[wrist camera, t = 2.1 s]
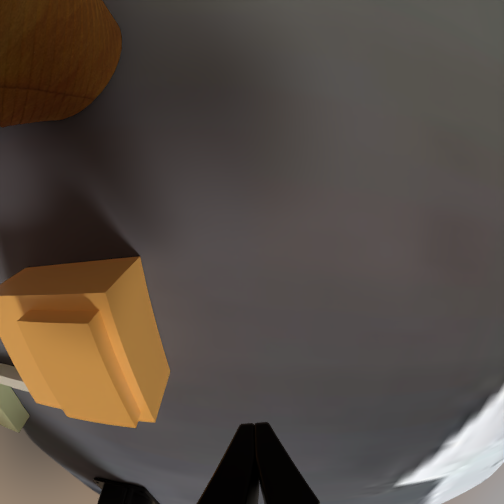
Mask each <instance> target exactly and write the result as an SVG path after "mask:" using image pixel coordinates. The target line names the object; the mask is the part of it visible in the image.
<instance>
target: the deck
mask: <svg viewBox="0 0 504 504" xmlns="http://www.w3.org/2000/svg"><path fill="white" fill-rule="evenodd" d="M11 387H13V388H17V389H20V390H24V391H28V392H29V390H28V389H27V387H26V385H25V383H24V382H23V380H22V378H21V377H20V375H19V373H18V371H17V369H16V367H15V366H10V365H6V364H2V363H0V425H2V426H4V427H7V428H9V429H11V430H14V431H16V432H18V433H19V432H20V431H21V429H22V427H23V426H24V424H25V423H26V421H27V419H28V418H29V414H28V413H27V411H26V410H25V408H24V407H23V405H22V404H21V402H20V401H19V399H18V398H17V396H16V395H15V393H14V391H13V390H12V388H11Z"/></svg>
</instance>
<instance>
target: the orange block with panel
mask: <svg viewBox="0 0 504 504" xmlns="http://www.w3.org/2000/svg"><path fill="white" fill-rule="evenodd" d="M0 337H1V339H2V342H3V344H4V346H5V348H6V350H7V352H8V354H9V356H10V358H11V360H12V362H13V364H14V366H15V367H16V369H17V371H18V373H19V375H20V377H21V378H22V380H23V382H24V383H25V385H26V387H27V389H28V390H29V392H30V393H31V395H32V397H33V398H34V400H35V401H36V403H39V404H43V405H47V406H51V407H55V408H59V409H63V411H64V412H65V414H66V415H67V417H71V418H76V419H81V420H86V421H91V422H97V423H103V424H109V425H116V426H124V427H132V428H136V426H137V423H138V421H144V422H155V421H156V418H157V414H158V411H159V407H160V404H161V401H162V397H163V394H164V390H165V387H166V384H167V381H168V377H169V374H170V369H169V366H168V362H167V359H166V356H165V353H164V349H163V346H162V343H161V339H160V336H159V332H158V329H157V325H156V321H155V317H154V314H153V310H152V306H151V302H150V298H149V294H148V290H147V285H146V281H145V277H144V272H143V268H142V263H141V258H140V256H138V257H128V258H117V259H107V260H97V261H87V262H77V263H67V264H57V265H47V266H38V267H28V268H25V269H23V270H21V271H20V272H18V273H17V274H15V275H14V276H12V277H11V278H9V279H8V280H6V281H5V282H3V283H2V284H0Z"/></svg>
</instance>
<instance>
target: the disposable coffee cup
mask: <svg viewBox="0 0 504 504" xmlns="http://www.w3.org/2000/svg"><path fill="white" fill-rule="evenodd" d="M121 49H122V36H121V31H120V28H119V26H118V24H117V22H116V21H115V19H114V18H113V16H112V15H111V13H110V12H109V10H108V9H107V7H106V6H105V4H104V2H103V1H102V0H0V126H1V127H6V126H9V125H11V126H12V125H17V124H25V123H32V122H40V121H50V120H53V121H54V120H62V119H65V118H68V117H70V116H73V115H75V114H77V113H78V112H80V111H82V110H83V109H84V108H86V107H87V106H88V105H89V104H91V103H92V102H93V101H94V99H95V98H96V97H97V96H98V95H99V94H100V93H101V92H102V91H103V89H104V88H105V87H106V85H107V84H108V82H109V80H110V79H111V77H112V75H113V73H114V72H115V69H116V66H117V64H118V61H119V58H120V54H121Z"/></svg>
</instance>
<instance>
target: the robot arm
mask: <svg viewBox="0 0 504 504" xmlns="http://www.w3.org/2000/svg"><path fill="white" fill-rule="evenodd" d="M93 481H94V482H95V483H96V484H97V485H98V486H99V487H100V488H101V489H102V491H101V494H100V497H99V500H98V504H159V503H158V502H157V501H156V500H155V499H154V498H153V497H152V495H151V494H150V493H149V492H148V491H147V490H146V489H145V488H142V487H137V486H131V485H126V484H121V483H116V482H112V481H107V480H103V479H99V478H94V480H93ZM259 481H260V486H261V491H262V495H263V500H264V504H320V501H319V500H318V499H317V497H316V496H315V494H314V493H313V491H312V490H311V488H310V487H309V485H308V484H307V483H306V481H305V480H304V478H303V477H302V475H301V474H300V472H299V470H298V469H297V467H296V466H295V464H294V463H293V461H292V460H291V458H290V457H289V455H288V453H287V452H286V450H285V449H284V447H283V446H282V444H281V442H280V441H279V439H278V437H277V436H276V434H275V433H274V431H273V429H272V428H271V426H270V424H269V423H268V422H261V423H256V424H255V425H254V424H253V423H247V424H241V425H240V426H239V427H238V429H237V431H236V433H235V435H234V437H233V439H232V441H231V443H230V445H229V447H228V448H227V450H226V452H225V454H224V456H223V458H222V460H221V462H220V463H219V465H218V467H217V469H216V471H215V473H214V474H213V476H212V478H211V480H210V481H209V483H208V485H207V487H206V488H205V490H204V492H203V494H202V495H201V497H200V499H199V501H198V502H197V504H258V497H259Z"/></svg>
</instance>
